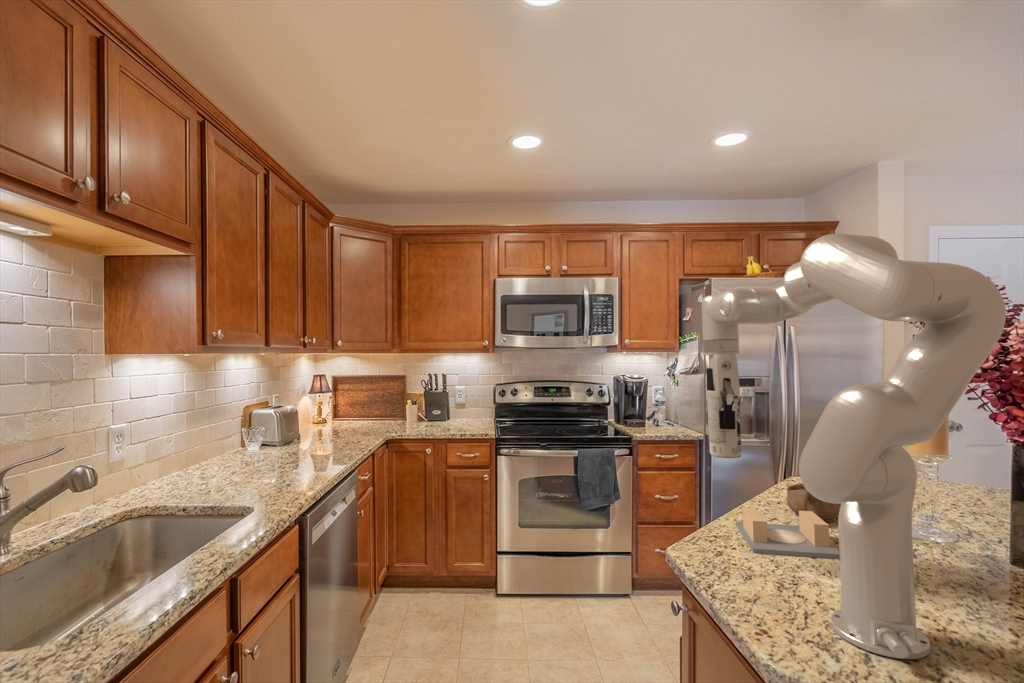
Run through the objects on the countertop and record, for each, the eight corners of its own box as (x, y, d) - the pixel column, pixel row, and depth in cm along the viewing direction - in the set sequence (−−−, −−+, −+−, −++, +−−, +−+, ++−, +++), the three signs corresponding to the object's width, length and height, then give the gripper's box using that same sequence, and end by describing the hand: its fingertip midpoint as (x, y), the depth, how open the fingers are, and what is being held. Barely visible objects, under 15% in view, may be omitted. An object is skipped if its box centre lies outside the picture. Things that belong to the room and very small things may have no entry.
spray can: (745, 459, 104) (741, 367, 105) (712, 458, 106) (709, 368, 106) (737, 453, 111) (733, 367, 112) (706, 452, 112) (703, 367, 113)
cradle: (842, 559, 105) (841, 531, 105) (753, 552, 109) (752, 526, 109) (811, 530, 122) (810, 506, 123) (735, 525, 127) (735, 502, 127)
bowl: (850, 528, 119) (834, 488, 121) (788, 533, 127) (775, 495, 129) (852, 509, 133) (838, 473, 135) (797, 514, 141) (784, 480, 143)
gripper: (748, 347, 100) (751, 432, 99) (730, 348, 117) (733, 422, 116) (710, 348, 102) (713, 432, 101) (698, 349, 118) (700, 421, 118)
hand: (724, 426), depth 108 cm, fingers closed on spray can, 6 cm apart
